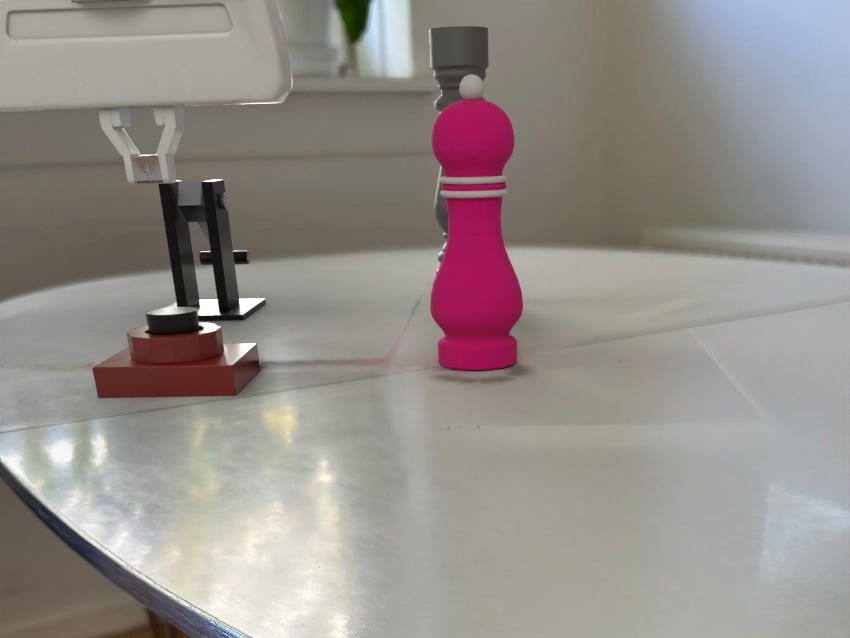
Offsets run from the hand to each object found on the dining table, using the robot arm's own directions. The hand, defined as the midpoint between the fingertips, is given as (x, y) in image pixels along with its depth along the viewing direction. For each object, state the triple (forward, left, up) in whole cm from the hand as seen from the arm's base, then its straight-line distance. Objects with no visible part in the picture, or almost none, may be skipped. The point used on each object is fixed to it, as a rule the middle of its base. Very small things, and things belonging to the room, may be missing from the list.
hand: (153, 183), depth 68 cm
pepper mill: (+22, +6, -14) cm, 27 cm away
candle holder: (+20, +36, -14) cm, 43 cm away
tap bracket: (-5, +27, -14) cm, 31 cm away
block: (0, 0, -14) cm, 14 cm away
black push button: (0, 0, -10) cm, 10 cm away
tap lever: (-5, +30, -6) cm, 31 cm away
